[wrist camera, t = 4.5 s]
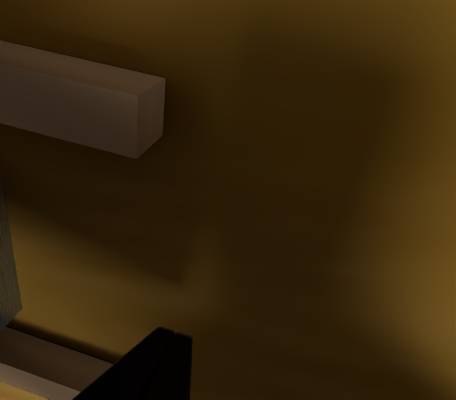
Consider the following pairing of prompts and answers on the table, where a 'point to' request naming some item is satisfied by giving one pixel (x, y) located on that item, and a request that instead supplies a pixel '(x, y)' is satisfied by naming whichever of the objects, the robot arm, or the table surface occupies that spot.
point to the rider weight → (7, 270)
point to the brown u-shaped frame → (81, 134)
